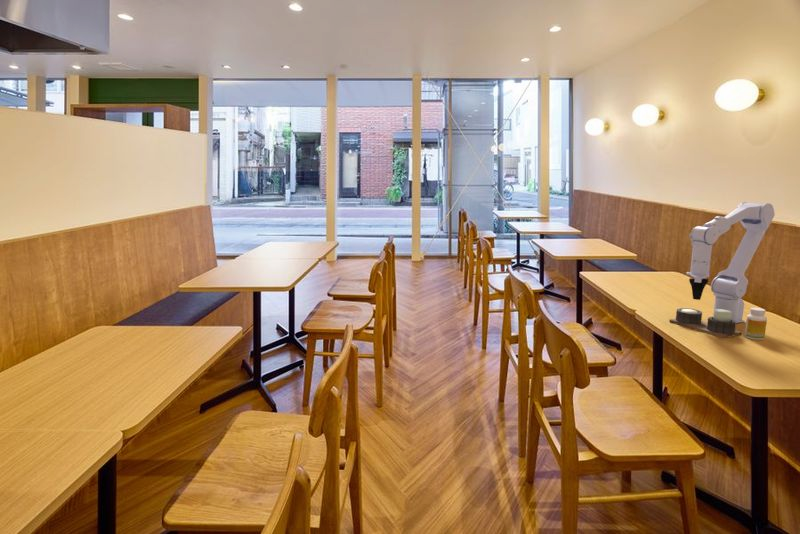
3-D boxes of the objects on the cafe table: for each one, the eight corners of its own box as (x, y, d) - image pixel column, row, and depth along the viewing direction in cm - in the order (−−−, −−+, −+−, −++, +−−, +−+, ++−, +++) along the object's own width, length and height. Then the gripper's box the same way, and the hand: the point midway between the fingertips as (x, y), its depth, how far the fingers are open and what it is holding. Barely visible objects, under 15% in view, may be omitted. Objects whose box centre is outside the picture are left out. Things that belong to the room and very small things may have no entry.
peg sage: (719, 318, 174) (720, 308, 174) (734, 322, 170) (735, 312, 169) (709, 320, 172) (710, 310, 172) (723, 324, 168) (725, 313, 167)
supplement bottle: (767, 340, 163) (771, 311, 161) (748, 339, 164) (752, 310, 163) (759, 335, 168) (763, 307, 167) (741, 334, 169) (744, 306, 168)
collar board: (686, 319, 188) (688, 307, 187) (741, 334, 170) (742, 321, 169) (669, 321, 184) (670, 309, 184) (722, 337, 166) (724, 324, 165)
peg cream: (686, 317, 186) (687, 308, 185) (699, 321, 181) (700, 311, 180) (677, 319, 184) (678, 309, 183) (689, 323, 179) (690, 313, 178)
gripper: (688, 257, 184) (685, 293, 187) (686, 263, 172) (682, 301, 175) (711, 258, 181) (707, 296, 183) (710, 264, 169) (705, 304, 171)
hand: (696, 299), depth 179 cm, fingers closed
